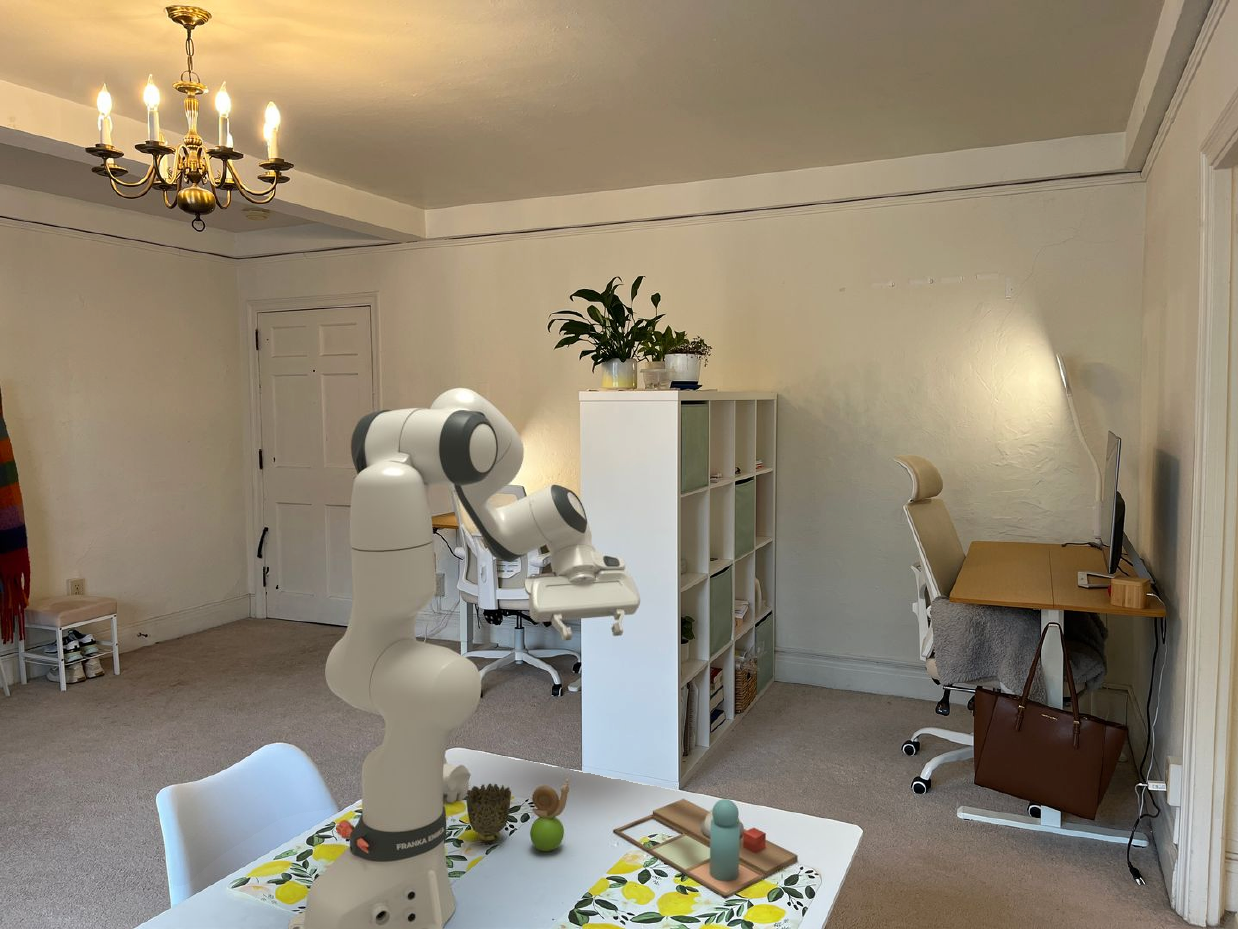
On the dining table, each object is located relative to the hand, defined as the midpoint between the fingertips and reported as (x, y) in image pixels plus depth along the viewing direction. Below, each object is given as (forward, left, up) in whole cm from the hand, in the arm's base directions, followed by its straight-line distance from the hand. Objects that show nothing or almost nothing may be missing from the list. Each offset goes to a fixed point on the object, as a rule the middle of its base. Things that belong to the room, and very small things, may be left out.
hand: (593, 636), depth 152 cm
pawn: (+2, -30, -31) cm, 43 cm away
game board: (+6, -21, -32) cm, 39 cm away
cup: (-20, +3, -32) cm, 37 cm away
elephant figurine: (-18, +21, -32) cm, 42 cm away
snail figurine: (-14, -6, -32) cm, 35 cm away
